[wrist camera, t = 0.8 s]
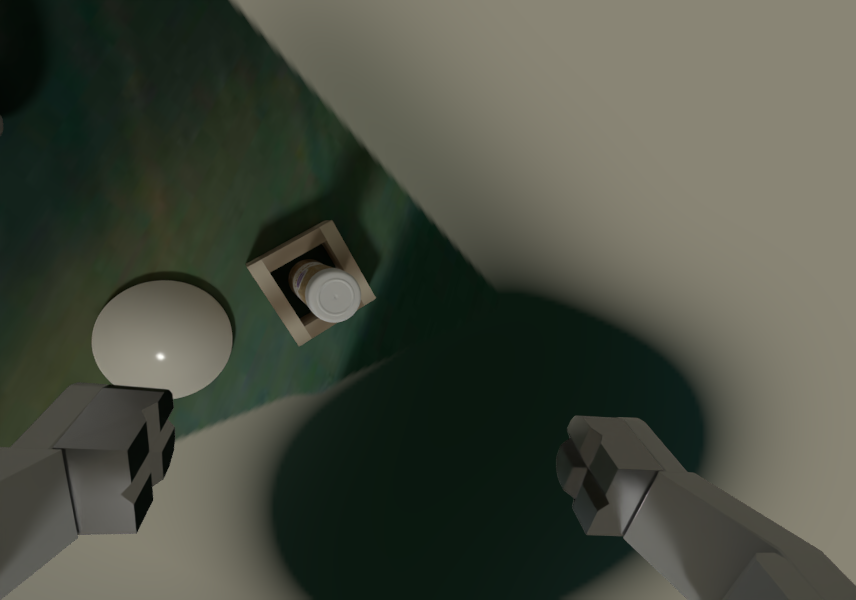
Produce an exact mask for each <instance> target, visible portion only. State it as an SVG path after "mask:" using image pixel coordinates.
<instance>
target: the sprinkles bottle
mask: <svg viewBox="0 0 856 600" xmlns="http://www.w3.org/2000/svg"><path fill="white" fill-rule="evenodd" d="M288 281H289V286H290V288H291V290H292V291H293V293H294V294H295V295H297V296H298V297H299V298H300V299H301V300H302V301H303V302H304V303H305V304H306V305H307V306H308V307H309V309H310V310H311V311H312V313H313V314H314V315H316V316H317V317H318V318H320V319H321V320H323V321H326V322H331V323H336V322H342V321H344V320H347V319H348V318H350V317H351V316H352V315H353V314H354V313H355V312H356V311H357V309H358V307H359V305H360V302H361V289H360V286H359V284H358V282H357V281H356V279H355V278H354V277H353V276H352V275H350V274H349V273H347V272H345V271H343V270H340V269H337V268H332V267H330V266H327V265H324V264H322V263H321V262H319V261H317V260H313V259H306V260H302V261H299V262H298V263H296V264H295V265H294V266H293V268H292V269H291V270H290V273H289V278H288Z"/></svg>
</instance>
